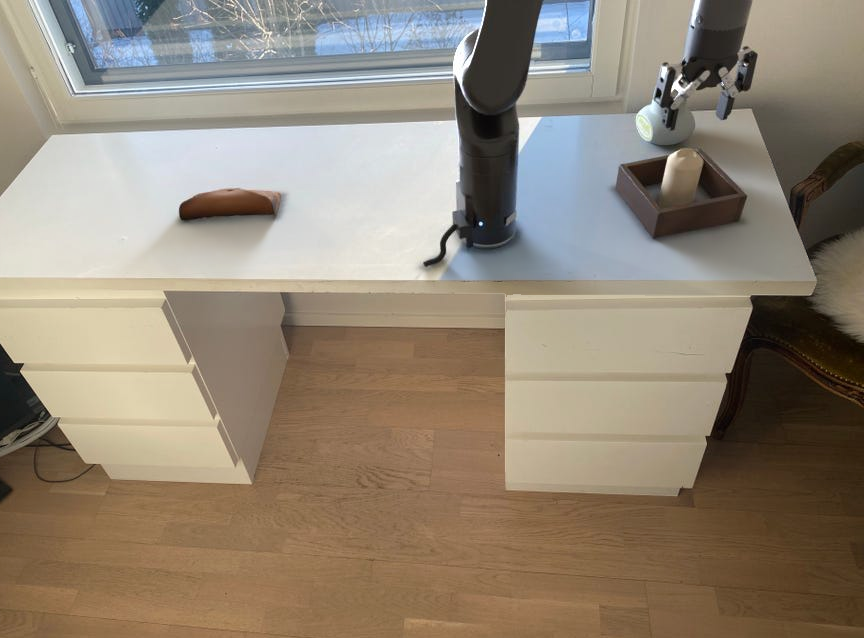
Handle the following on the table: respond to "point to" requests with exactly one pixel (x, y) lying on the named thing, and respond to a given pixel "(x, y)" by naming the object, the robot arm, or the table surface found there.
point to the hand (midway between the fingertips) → (694, 123)
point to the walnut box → (687, 216)
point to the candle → (680, 178)
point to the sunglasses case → (230, 204)
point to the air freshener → (656, 131)
